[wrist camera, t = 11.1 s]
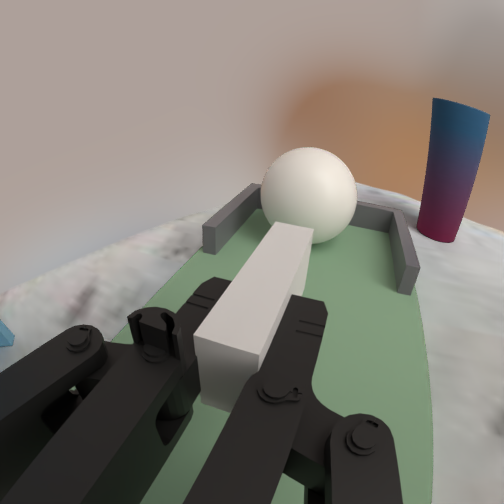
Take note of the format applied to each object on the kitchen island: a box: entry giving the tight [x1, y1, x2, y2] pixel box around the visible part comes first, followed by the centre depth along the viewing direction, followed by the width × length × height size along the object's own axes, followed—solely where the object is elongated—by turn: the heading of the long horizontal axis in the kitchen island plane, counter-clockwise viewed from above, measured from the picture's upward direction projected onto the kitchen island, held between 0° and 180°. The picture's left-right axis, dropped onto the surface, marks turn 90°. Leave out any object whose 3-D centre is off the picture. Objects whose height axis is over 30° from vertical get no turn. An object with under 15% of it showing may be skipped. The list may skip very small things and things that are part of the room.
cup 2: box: [417, 98, 490, 243], centre depth 28 cm, size 7×7×15 cm
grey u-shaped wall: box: [202, 183, 420, 296], centre depth 25 cm, size 11×15×2 cm
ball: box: [261, 147, 357, 244], centre depth 24 cm, size 8×8×8 cm
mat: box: [70, 209, 433, 504], centre depth 17 cm, size 34×16×1 cm, turn 162°
